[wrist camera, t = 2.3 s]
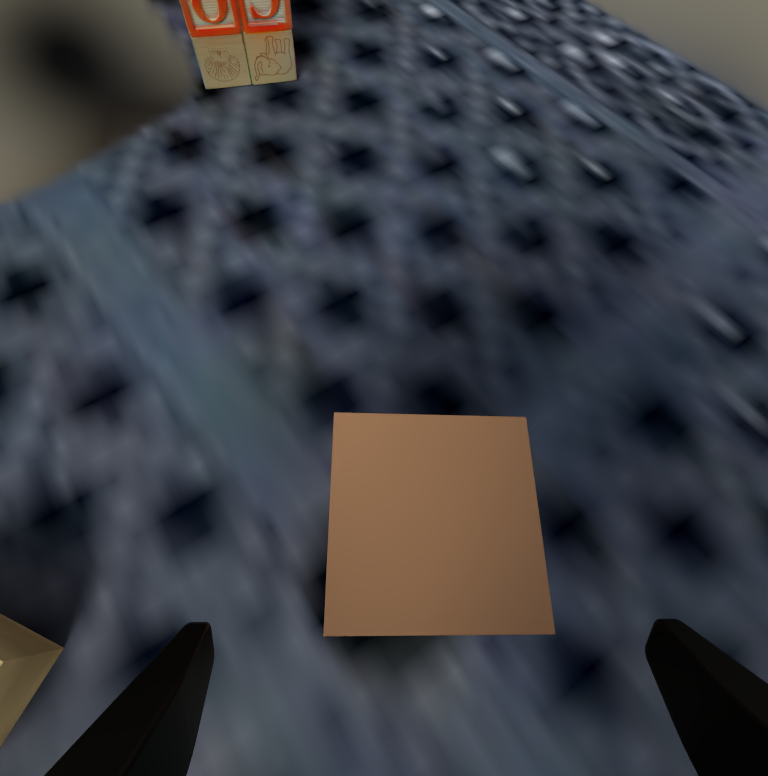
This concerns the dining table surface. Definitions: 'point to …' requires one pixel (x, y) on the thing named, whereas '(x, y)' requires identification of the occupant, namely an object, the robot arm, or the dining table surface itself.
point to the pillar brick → (434, 528)
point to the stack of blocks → (241, 41)
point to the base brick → (21, 669)
